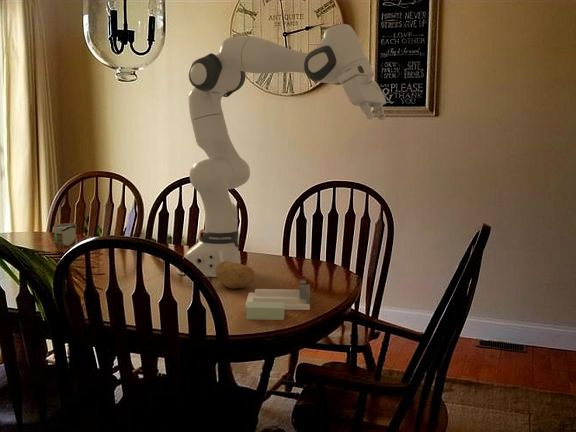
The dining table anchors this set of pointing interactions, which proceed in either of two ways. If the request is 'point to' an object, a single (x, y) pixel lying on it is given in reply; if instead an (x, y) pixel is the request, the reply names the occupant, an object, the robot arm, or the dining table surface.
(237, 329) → the dining table surface
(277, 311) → the green block
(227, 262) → the potato
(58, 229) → the food container
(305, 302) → the beige shallow tray
